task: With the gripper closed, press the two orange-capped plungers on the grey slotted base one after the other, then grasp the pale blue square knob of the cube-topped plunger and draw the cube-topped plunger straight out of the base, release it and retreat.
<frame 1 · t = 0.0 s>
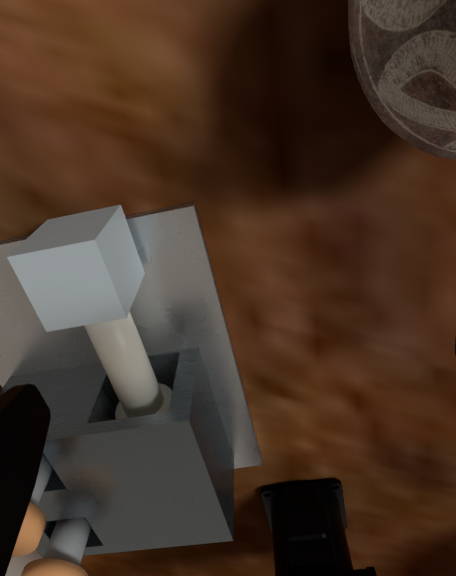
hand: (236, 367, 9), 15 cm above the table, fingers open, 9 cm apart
cube-topped plunger: (135, 382, 24), point 3 cm above the table, slide at 0.0 cm
grey slotted base: (170, 408, 30), on the table
plunger b: (19, 494, 23), point 8 cm above the table, slide at 0.0 cm
plunger a: (64, 554, 25), point 8 cm above the table, slide at 0.0 cm
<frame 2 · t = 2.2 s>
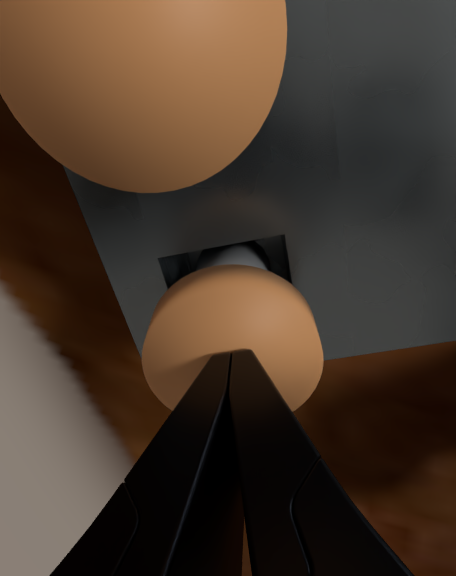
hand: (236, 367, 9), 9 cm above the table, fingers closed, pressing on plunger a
grey slotted base: (400, 96, 14), on the table
plunger b: (160, 42, 7), point 8 cm above the table, slide at 0.0 cm
plunger a: (232, 309, 11), point 7 cm above the table, slide at 0.8 cm, touching gripper
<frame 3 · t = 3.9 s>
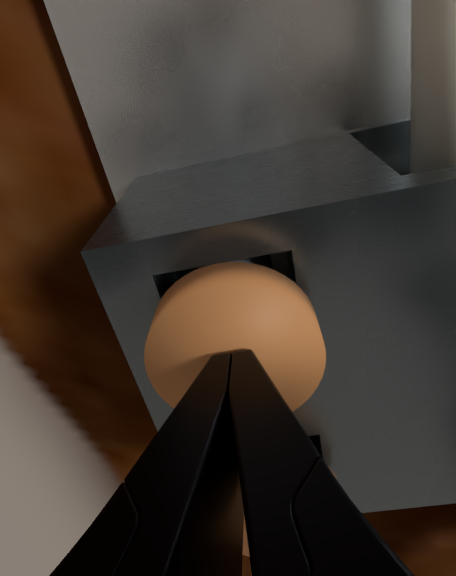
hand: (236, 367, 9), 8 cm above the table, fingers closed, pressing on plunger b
grey slotted base: (412, 259, 17), on the table
plunger b: (235, 307, 11), point 6 cm above the table, slide at 1.8 cm, touching gripper
plunger a: (272, 457, 14), point 6 cm above the table, slide at 1.9 cm
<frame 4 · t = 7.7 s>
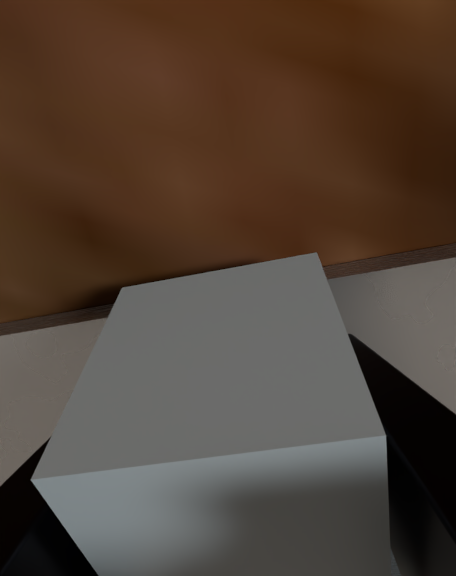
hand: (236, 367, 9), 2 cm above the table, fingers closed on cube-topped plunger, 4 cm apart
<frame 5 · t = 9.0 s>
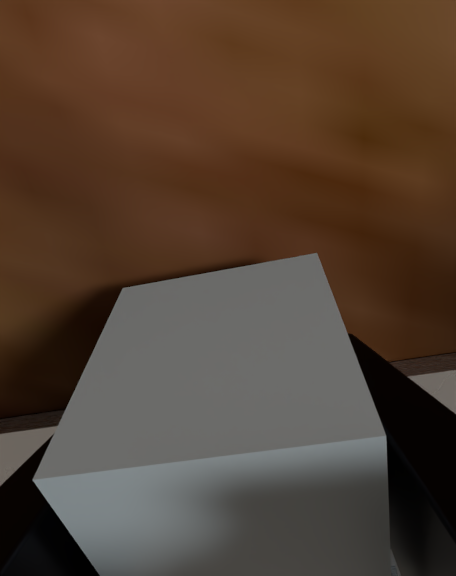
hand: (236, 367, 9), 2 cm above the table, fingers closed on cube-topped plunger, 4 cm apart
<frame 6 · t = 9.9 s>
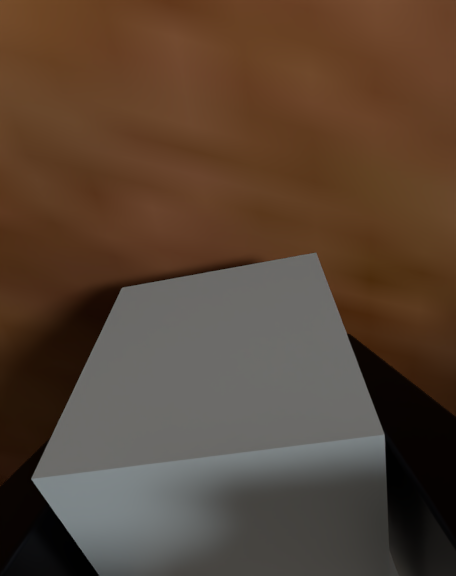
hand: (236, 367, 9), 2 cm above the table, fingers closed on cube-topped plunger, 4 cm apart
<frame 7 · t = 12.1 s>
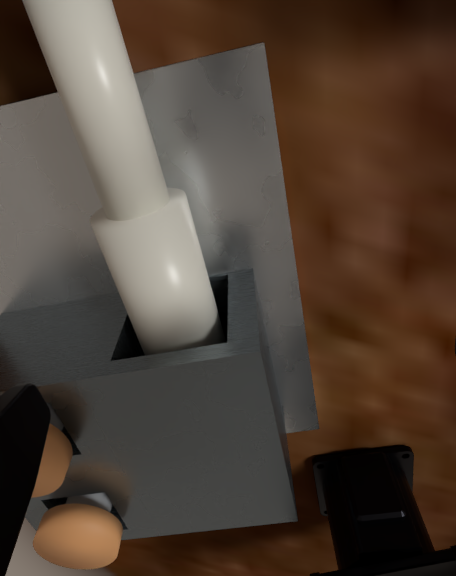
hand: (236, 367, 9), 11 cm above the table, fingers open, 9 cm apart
cube-topped plunger: (122, 159, 14), point 3 cm above the table, slide at 6.5 cm
grey slotted base: (208, 357, 24), on the table
plunger b: (36, 422, 18), point 6 cm above the table, slide at 1.9 cm
plunger a: (89, 502, 21), point 6 cm above the table, slide at 1.9 cm
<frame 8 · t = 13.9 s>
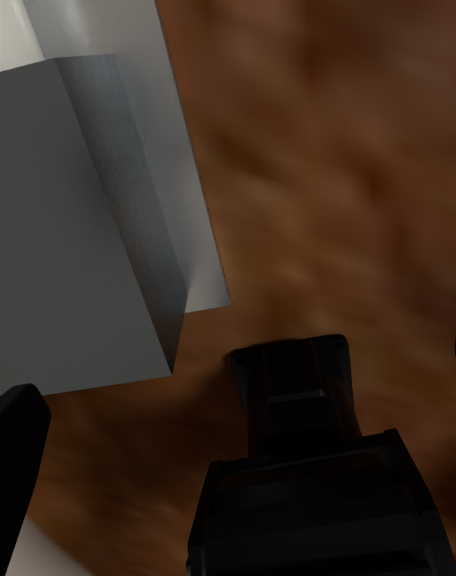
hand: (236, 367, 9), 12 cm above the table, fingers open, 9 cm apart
grey slotted base: (87, 202, 20), on the table
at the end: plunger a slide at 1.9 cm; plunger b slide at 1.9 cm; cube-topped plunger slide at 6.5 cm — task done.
